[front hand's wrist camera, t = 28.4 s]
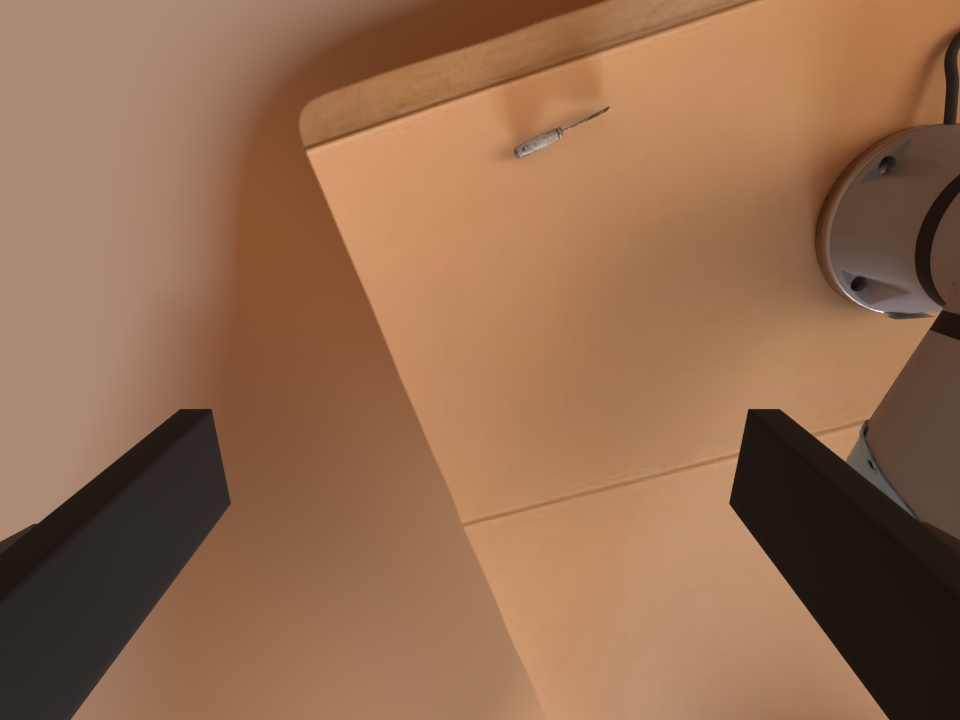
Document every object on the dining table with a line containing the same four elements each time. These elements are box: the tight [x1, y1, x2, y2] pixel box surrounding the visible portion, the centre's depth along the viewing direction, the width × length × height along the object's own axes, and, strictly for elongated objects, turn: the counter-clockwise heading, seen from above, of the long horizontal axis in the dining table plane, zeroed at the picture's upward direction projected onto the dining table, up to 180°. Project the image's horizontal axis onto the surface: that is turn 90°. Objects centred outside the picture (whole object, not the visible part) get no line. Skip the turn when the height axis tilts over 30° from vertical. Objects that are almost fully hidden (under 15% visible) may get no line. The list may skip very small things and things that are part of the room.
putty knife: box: [514, 107, 609, 158], centre depth 41 cm, size 1×8×2 cm, turn 116°
